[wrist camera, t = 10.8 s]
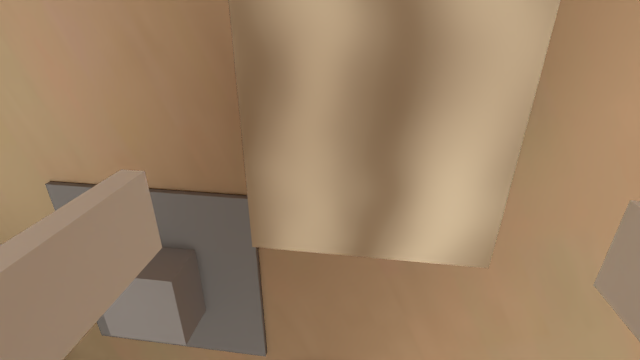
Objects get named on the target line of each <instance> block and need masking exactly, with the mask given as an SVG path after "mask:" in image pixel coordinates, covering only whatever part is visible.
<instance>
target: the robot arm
mask: <svg viewBox="0 0 640 360" xmlns="http://www.w3.org/2000/svg"><path fill="white" fill-rule="evenodd" d="M161 248H162V245H161V240H160V236H159V231H158V227H157V222H156V218H155V214H154V209H153V205H152V200H151V196H150V192H149V187H148V183H147V178H146V174H145V171H136V170H119V171H118V172H116V173H115V174H113V175H111V176H110V177H108V178H107V179H105V180H103V181H102V182H100V183H99V184H97V185H95V186H94V187H92V188H91V189H89V190H87V191H86V192H84V193H83V194H81V195H80V196H78V197H76V198H75V199H73V200H72V201H70V202H68V203H67V204H65V205H64V206H62V207H60V208H59V209H57V210H56V211H54V212H52V213H51V214H49V215H48V216H46V217H45V218H43V219H41V220H40V221H38V222H37V223H35V224H33V225H32V226H30V227H29V228H27V229H25V230H24V231H22V232H21V233H19V234H17V235H16V236H14V237H13V238H11V239H10V240H8V241H6V242H5V243H3V244H2V245H0V360H63V359H64V358H65V357H66V356H67V354H68V353H69V352H70V351H71V350H72V349H73V348H74V347H75V345H76V344H77V343H78V342H79V341H80V340H81V339H82V338H83V336H84V335H85V334H86V333H87V332H88V331H89V330H90V329H91V327H92V326H93V325H94V324H95V323H96V322H97V321H98V320H99V318H100V317H101V316H102V315H103V314H104V313H105V312H106V310H107V309H108V308H109V307H110V306H111V305H112V304H113V303H114V301H115V300H116V299H117V298H118V297H119V296H120V295H121V294H122V292H123V291H124V290H125V289H126V288H127V287H128V286H129V285H130V283H131V282H132V281H133V280H134V279H135V278H136V277H137V276H138V274H139V273H140V272H141V271H142V270H143V269H144V268H145V267H146V265H147V264H148V263H149V262H150V261H151V260H152V259H153V258H154V256H155V255H156V254H157V253H158V252H159V251H160V250H161ZM594 286H595V288H596V289H597V290H598V291H599V292H600V294H601V295H602V296H603V297H604V299H605V300H606V301H607V302H608V304H609V305H610V306H611V307H612V308H613V310H614V311H615V312H616V313H617V315H618V316H619V317H620V318H621V319H622V321H623V322H624V323H625V324H626V326H627V327H628V328H629V329H630V331H631V332H632V333H633V334H634V335H635V337H636V338H637V339H638V340H639V342H640V201H632V200H630V201H629V204H628V206H627V208H626V211H625V213H624V215H623V218H622V220H621V222H620V225H619V227H618V229H617V232H616V234H615V236H614V238H613V241H612V243H611V245H610V248H609V250H608V252H607V255H606V257H605V259H604V262H603V264H602V266H601V269H600V271H599V273H598V275H597V278H596V280H595V282H594Z"/></svg>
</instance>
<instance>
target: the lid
mask: <svg viewBox="0 0 640 360" xmlns="http://www.w3.org/2000/svg"><path fill="white" fill-rule="evenodd" d="M228 3H229V13H230V23H231V33H232V44H233V54H234V64H235V74H236V85H237V95H238V105H239V115H240V126H241V136H242V146H243V156H244V167H245V177H246V187H247V197H248V207H249V218H250V228H251V238H252V247H258V248H269V249H280V250H291V251H302V252H313V253H324V254H335V255H346V256H357V257H368V258H379V259H390V260H401V261H412V262H423V263H435V264H446V265H457V266H468V267H479V268H489V266H490V262H491V259H492V255H493V251H494V247H495V244H496V240H497V236H498V232H499V229H500V225H501V221H502V217H503V214H504V210H505V206H506V202H507V199H508V195H509V191H510V187H511V184H512V180H513V176H514V173H515V169H516V165H517V161H518V158H519V154H520V150H521V146H522V143H523V139H524V135H525V131H526V128H527V124H528V120H529V116H530V113H531V109H532V105H533V101H534V98H535V94H536V90H537V86H538V83H539V79H540V75H541V71H542V68H543V64H544V60H545V57H546V53H547V49H548V45H549V42H550V38H551V34H552V30H553V27H554V23H555V19H556V15H557V12H558V8H559V4H560V0H228Z"/></svg>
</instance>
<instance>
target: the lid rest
mask: <svg viewBox="0 0 640 360" xmlns="http://www.w3.org/2000/svg"><path fill="white" fill-rule="evenodd" d="M45 185H46V188H47V190H48V193H49V196H50V198H51V201H52V204H53V206H54V209H55V211H56V210H57V209H59V208H60V207H62V206H64V205H65V204H67V203H68V202H70V201H72V200H73V199H75V198H76V197H78V196H80V195H81V194H83V193H84V192H86V191H87V190H89V189H91V188H92V187H94V186H95V185H91V184H77V183H63V182H48V183H46V184H45ZM149 192H150V196H151V200H152V205H153V209H154V214H155V218H156V222H157V227H158V231H159V236H160V240H161V245H162V248H161V250H160V251H159V252H158V253H157V254H156V255H155V256H154V258H153V259H152V260H151V261H150V262H149V263H148V264H147V265H146V267H145V268H144V269H143V270H142V271H141V272H140V273H139V274H138V276H137V277H136V278H135V279H134V280H133V281H132V282H131V283H130V285H129V286H128V287H127V288H126V289H125V290H124V291H123V292H122V294H121V295H120V296H119V297H118V298H117V299H116V300H115V301H114V303H113V304H112V305H111V306H110V307H109V308H108V309H107V310H106V312H105V313H104V314H103V315H102V316H101V317H100V318H99V320H98V321H97V324H98V326H99V329H100V332H101V334H102V335H104V336H112V337H119V338H127V339H135V340H143V341H150V342H158V343H166V344H173V345H181V346H189V347H197V348H204V349H212V350H220V351H227V352H235V353H243V354H251V355H258V356H266V354H267V346H266V334H265V323H264V312H263V301H262V290H261V279H260V268H259V256H258V247H252V238H251V228H250V218H249V207H248V197H247V196H243V195H229V194H216V193H202V192H188V191H174V190H160V189H149Z"/></svg>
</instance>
